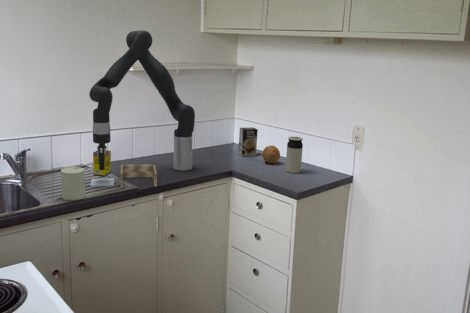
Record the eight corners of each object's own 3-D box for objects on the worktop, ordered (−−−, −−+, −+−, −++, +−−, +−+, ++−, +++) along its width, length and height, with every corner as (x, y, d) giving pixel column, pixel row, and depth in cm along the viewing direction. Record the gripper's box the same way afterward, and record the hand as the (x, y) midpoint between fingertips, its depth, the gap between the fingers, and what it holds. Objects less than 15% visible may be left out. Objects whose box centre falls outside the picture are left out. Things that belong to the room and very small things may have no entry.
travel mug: (294, 174, 249) (297, 140, 244) (282, 171, 254) (284, 137, 249) (303, 171, 254) (306, 138, 250) (291, 168, 259) (293, 135, 255)
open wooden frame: (154, 176, 234) (154, 164, 232) (157, 186, 219) (157, 173, 217) (120, 177, 230) (120, 165, 228) (120, 187, 215) (120, 174, 214)
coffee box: (241, 157, 279) (243, 129, 275) (237, 154, 285) (239, 127, 281) (256, 156, 282) (258, 129, 278) (252, 153, 288) (253, 127, 284)
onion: (278, 161, 274) (279, 143, 271) (280, 165, 264) (281, 147, 261) (261, 160, 273) (262, 143, 271) (262, 165, 263) (263, 147, 261)
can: (89, 194, 204) (88, 167, 201) (77, 201, 195) (76, 172, 192) (69, 192, 206) (68, 164, 203) (57, 198, 197) (55, 170, 194)
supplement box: (105, 177, 216) (105, 153, 213) (93, 175, 217) (92, 152, 214) (111, 173, 222) (111, 150, 219) (99, 172, 223) (98, 149, 220)
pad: (114, 179, 226) (114, 178, 226) (113, 186, 217) (113, 184, 216) (91, 180, 224) (91, 178, 224) (90, 186, 214) (90, 185, 214)
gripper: (109, 135, 208) (110, 171, 212) (110, 128, 222) (111, 163, 226) (91, 135, 207) (92, 172, 211) (93, 128, 220) (94, 163, 224)
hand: (102, 167), depth 218 cm, fingers closed on supplement box, 7 cm apart
